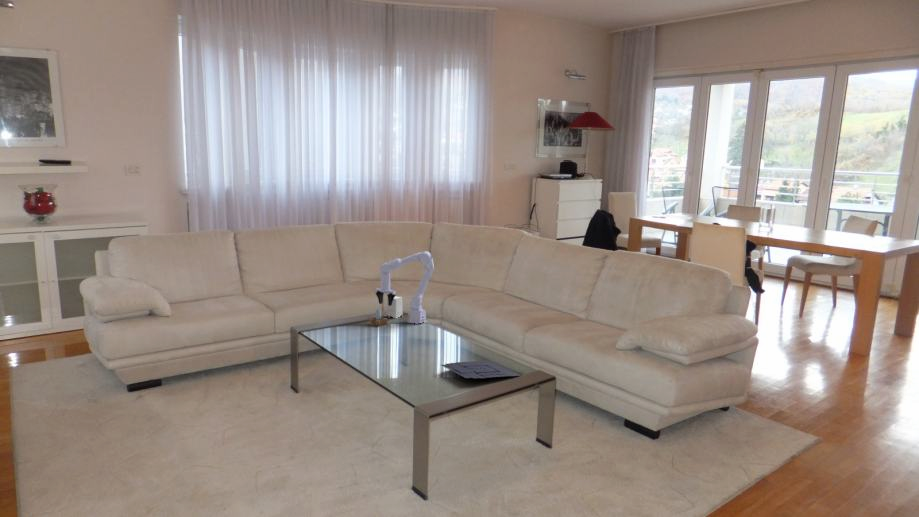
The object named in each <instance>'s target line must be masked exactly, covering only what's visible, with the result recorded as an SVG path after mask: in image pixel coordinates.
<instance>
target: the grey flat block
mask: <svg viewBox="0 0 919 517" xmlns="http://www.w3.org/2000/svg"><path fill="white" fill-rule="evenodd" d="M440 366H442V368H443V367H444V368H445V369H448V370H450V371H452V372H453V373H455V374H457V375H458V376H461V377H463V378H465V379H488V378H500V377H516V376H519V377H520V376H521V374H518V373H516V372H515V371H512V370H510V369H507V368H505V367H503V366H500V365H498V364H497V363H494V362H492V361H489V360H486V361H483V360H482V361H481V360H477V361H459V362H458V361H456V362H450V363H445V364H440Z"/></svg>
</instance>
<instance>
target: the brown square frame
mask: <svg viewBox="0 0 919 517" xmlns="http://www.w3.org/2000/svg"><path fill="white" fill-rule="evenodd" d="M368 322H369V324H370V326H374V327H384V326H386V325H388V317H384V316H383V317H382V316H381V320H376V316H375V317H371V318H369V321H368Z"/></svg>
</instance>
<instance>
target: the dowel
mask: <svg viewBox="0 0 919 517" xmlns="http://www.w3.org/2000/svg"><path fill="white" fill-rule="evenodd" d="M375 317H376V320H381V317H382V309H380V308H377V309H375Z"/></svg>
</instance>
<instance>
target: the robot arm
mask: <svg viewBox="0 0 919 517" xmlns="http://www.w3.org/2000/svg"><path fill="white" fill-rule="evenodd" d="M414 261H416V262H421V264H423V266H424V268H425V271H424V273H423V275H422V277H421V280H420V283H419V285H418V287H417V289H416V292H415V294H414V296H413V297H412V298H411V300H410V302H409V305H410V307H409V309H410V310H409V320H407V321H406V323H409V324H410V323H411V324H414V323H415V324H414V325H419V324H418V323H422V322H424V323H422V324H425V323H427V311H426V309H424V308H423V306H422V304H423V303H422V302H423V297H424V295H425V294H424V293H425V291H426V290H427V286H428V284H429V283H430V279H431V277H432V275H433V272H434V270H435V265H434V259H433V255H432V254H431V252H429V251H428V250H425V251H421V252H416V253H414V254H411V255H409V256H407V257H404V258H393V260H390V261H389V260H388V261H386V262H384V263H383V264H382V265H380V267H379V268H380V269H379V270H380V287H376V288H375V296H376V298H377V300H378V303H379V304H380V305H381V304H383V301H384V300H383V299H384V294H386V295H387V298H388V304H389V306H391V305H392V302H393V299H394V297H395V296H396V294H397V292H396V290H394V289H391V271H392V272H393V271H395V270H397V269H400V268H402V267H403V266H404V265H405V264H408V263H411V262H414Z"/></svg>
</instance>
